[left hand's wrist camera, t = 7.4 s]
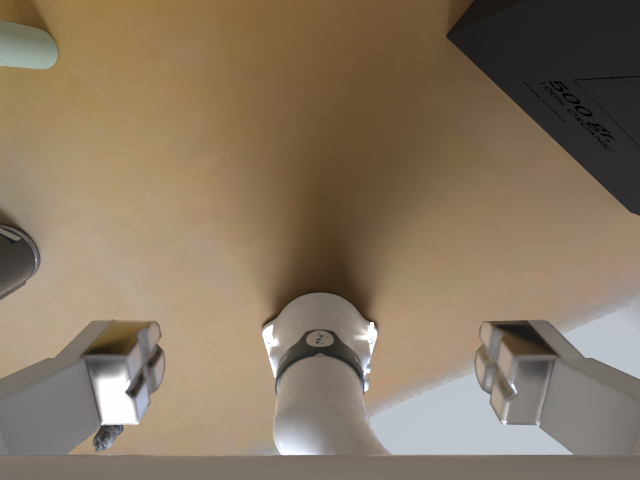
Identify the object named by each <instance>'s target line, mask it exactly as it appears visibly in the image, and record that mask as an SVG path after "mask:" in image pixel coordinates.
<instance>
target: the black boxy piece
mask: <svg viewBox="0 0 640 480" xmlns="http://www.w3.org/2000/svg"><path fill="white" fill-rule="evenodd" d="M446 37H447V38H448V39H449V40H450V41H451V42H452V43H454V44H455V45H456V46H457V47H458V48H459V49H460V50H461V51H462V52H463V53H464V54H465V55H466V56H467V57H468V58H469V59H470V60H471V61H472V62H473V63H475V64H476V65H477V66H478V67H479V68H480V69H481V70H482V71H483V72H484V73H485V74H486V75H487V76H488V77H489V78H490V79H491V80H492V81H493V82H494V83H496V84H497V85H498V86H499V87H500V88H501V89H502V90H503V91H504V92H505V93H506V94H507V95H508V96H509V97H510V98H511V99H512V100H513V101H514V102H515V103H516V104H518V105H519V106H520V107H521V108H522V109H523V110H524V111H525V112H526V113H527V114H528V115H529V116H530V117H531V118H532V119H533V120H534V121H535V122H536V123H537V124H539V125H540V126H541V127H542V128H543V129H544V130H545V131H546V132H547V133H548V134H549V135H550V136H551V137H552V138H553V139H554V140H555V141H556V142H557V143H558V144H560V145H561V146H562V147H563V148H564V149H565V150H566V151H567V152H568V153H569V154H570V155H571V156H572V157H573V158H574V159H575V160H576V161H577V162H578V163H579V164H580V165H582V166H583V167H584V168H585V169H586V170H587V171H588V172H589V173H590V174H591V175H592V176H593V177H594V178H595V179H596V180H597V181H598V182H599V183H600V184H601V185H603V186H604V187H605V188H606V189H607V190H608V191H609V192H610V193H611V194H612V195H613V196H614V197H615V198H616V199H617V200H618V201H619V202H620V203H621V204H622V205H624V206H625V207H626V208H627V209H628V210H629V211H630V212H632V213H634V214H637V215H640V0H474V2H473V3H472V4H471V5H470V7H469V8H468V9H467V10H466V12H465V13H464V14H463V15H462V17H461V18H460V19H459V20H458V22H457V23H456V24H455V25H454V27H453V28H452V29H451V31H450V32H449V33H448V34H447V36H446ZM626 76H639V77H632V78H626ZM618 77H619V78H618ZM607 78H608V79H607ZM573 79H574V80H575V81H574V80H573ZM577 79H578V80H577ZM580 79H581V80H580ZM577 83H578V84H579V85H578V84H577ZM568 89H569V90H570V91H568ZM570 94H572V95H570ZM574 96H575V97H577V98H578V100H579V102H580V103H579V102H577V98H575V97H574ZM594 101H595V102H596V103H595V102H594ZM599 106H600V107H601V108H600V107H599ZM585 108H586V109H587V110H586V109H585ZM590 111H591V112H590ZM604 111H605V112H606V113H605V112H604ZM589 113H592V114H589ZM607 114H608V115H609V116H608V115H607ZM592 115H593V116H592Z"/></svg>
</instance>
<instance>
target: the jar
mask: <svg viewBox="0 0 640 480" xmlns="http://www.w3.org/2000/svg"><path fill="white" fill-rule="evenodd" d="M57 58H58V49H57V45H56V43H55V41H54V39H53V38H52V37H51V36H50V35H49V34H48V33H47V32H45V31H44V30H42V29H38V28H34V27H30V26H26V25H21V24H17V23H13V22H8V21H4V20H0V66H10V67H21V68H33V69H48V68H51V67H52V66H53V65H54V64H55V63H56V61H57Z"/></svg>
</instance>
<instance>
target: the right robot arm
mask: <svg viewBox="0 0 640 480" xmlns="http://www.w3.org/2000/svg"><path fill="white" fill-rule="evenodd" d="M39 264H40V256H39V252H38V249H37V247H36V245H35V244H34V242H33V241H32V240H31V238H30V237H29V236H27V235H26V234H25V233H24V232H22V231H21V230H19V229H17V228H15V227H12V226H9V225H4V224H0V300H2V299H3V298H5V297H6V296H8V295H9V294H11V293H12V292H14V291H16V290H17V289H19V288H20V287H22V286H23V285H25V283H26V280H27V279H29V278H30V277H32V276H33V275H34V274H35V273H36V272H37V270H38V268H39Z"/></svg>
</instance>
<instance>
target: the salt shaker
mask: <svg viewBox="0 0 640 480" xmlns="http://www.w3.org/2000/svg"><path fill="white" fill-rule="evenodd" d="M123 426H124V425H101V428H100V429H99V431H98V432H97V434H96V435H95V437H94V439H93V445H94V447H95V448H96V449H95V450H96V452H98V451H100V450H106V449H108V448H109V447H110V446H111V445H112V443H113V442H114V440H115V438H116V436H117V435H119V434H121V433H122V431H123Z"/></svg>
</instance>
